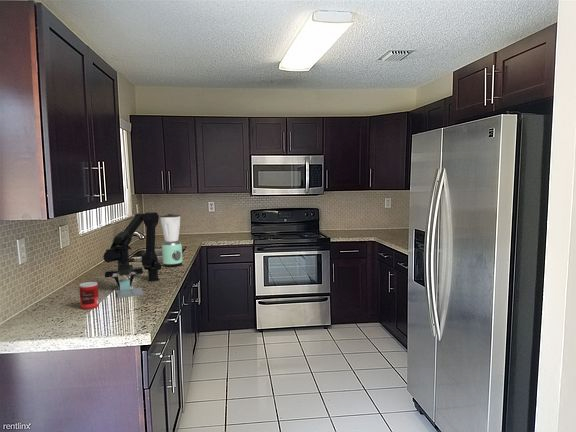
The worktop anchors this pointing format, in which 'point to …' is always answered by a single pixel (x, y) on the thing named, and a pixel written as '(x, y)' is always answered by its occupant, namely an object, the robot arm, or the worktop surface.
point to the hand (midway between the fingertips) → (124, 287)
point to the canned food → (89, 295)
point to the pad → (129, 292)
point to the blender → (171, 240)
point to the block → (124, 284)
